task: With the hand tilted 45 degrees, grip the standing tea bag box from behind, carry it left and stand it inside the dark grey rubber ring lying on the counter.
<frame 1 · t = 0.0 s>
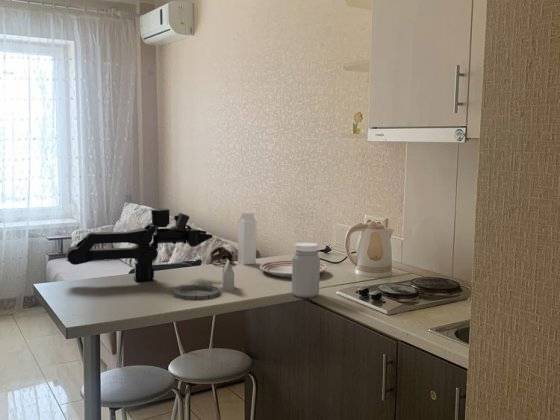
hand: (209, 234, 235), 17 cm above the countertop, tool horizontal, fingers open, 9 cm apart
ring: (196, 293, 208), on the countertop
milk: (246, 263, 263), on the countertop
tea bag: (228, 288, 218), on the countertop
pottery mug: (222, 263, 263), on the countertop
jar: (305, 295, 211), on the countertop
dinner plate: (293, 273, 246), on the countertop
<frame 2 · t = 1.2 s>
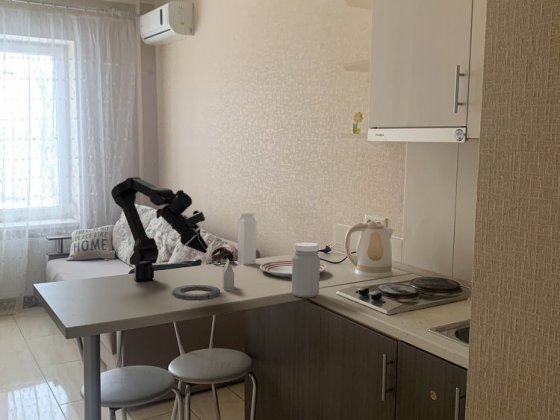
hand: (206, 250, 216), 14 cm above the countertop, tool tilted 45°, fingers open, 9 cm apart
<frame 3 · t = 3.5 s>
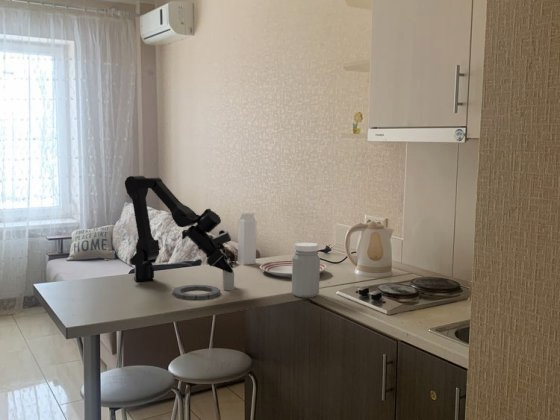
hand: (232, 270, 217), 7 cm above the countertop, tool tilted 45°, fingers closed on tea bag, 7 cm apart
tea bag: (228, 288, 218), on the countertop, touching gripper
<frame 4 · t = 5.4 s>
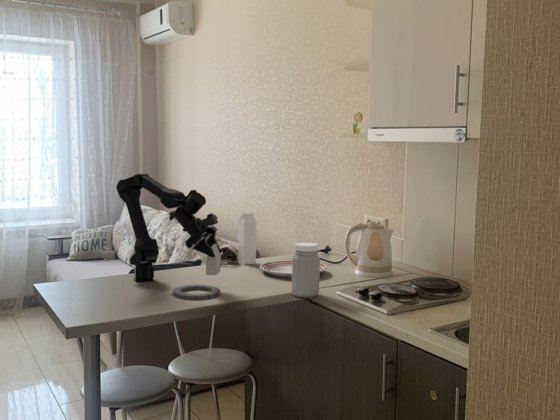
hand: (217, 254, 211), 13 cm above the countertop, tool tilted 45°, fingers closed on tea bag, 7 cm apart
tea bag: (213, 273, 212), point 6 cm above the countertop, touching gripper
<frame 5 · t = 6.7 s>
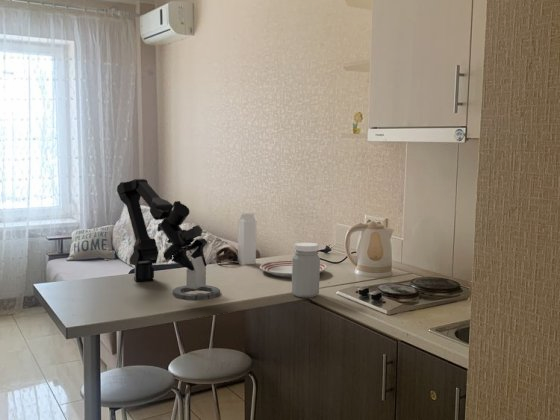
hand: (199, 268, 207), 9 cm above the countertop, tool tilted 45°, fingers closed on tea bag, 7 cm apart
tea bag: (196, 286, 208), point 2 cm above the countertop, touching gripper
when the fingers open (8 cm above the countertop, at t = 7.5 s): tea bag stays where it is, resting in ring.
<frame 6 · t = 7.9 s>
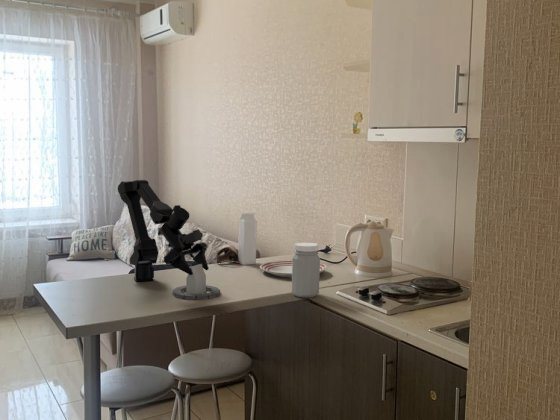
hand: (200, 271, 207), 8 cm above the countertop, tool tilted 45°, fingers open, 9 cm apart
tea bag: (196, 294, 208), resting in ring
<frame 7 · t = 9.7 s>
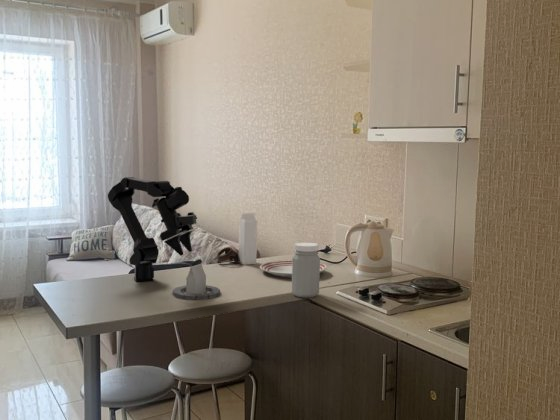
hand: (186, 253, 216), 12 cm above the countertop, tool tilted 25°, fingers open, 9 cm apart
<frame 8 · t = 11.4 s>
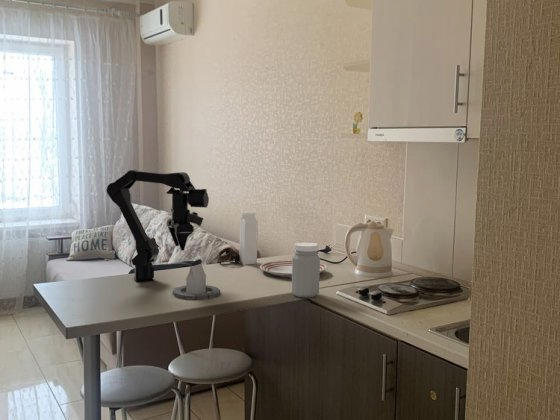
hand: (179, 248, 223), 13 cm above the countertop, tool pointing down, fingers open, 9 cm apart
milk: (247, 263, 264), on the countertop, touching pottery mug
pottery mug: (229, 263, 262), on the countertop, touching milk
everything else where it was.
at the end: tea bag 0.2 cm from the ring (horizontally); tea bag tilted 0°; the gripper is holding nothing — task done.
